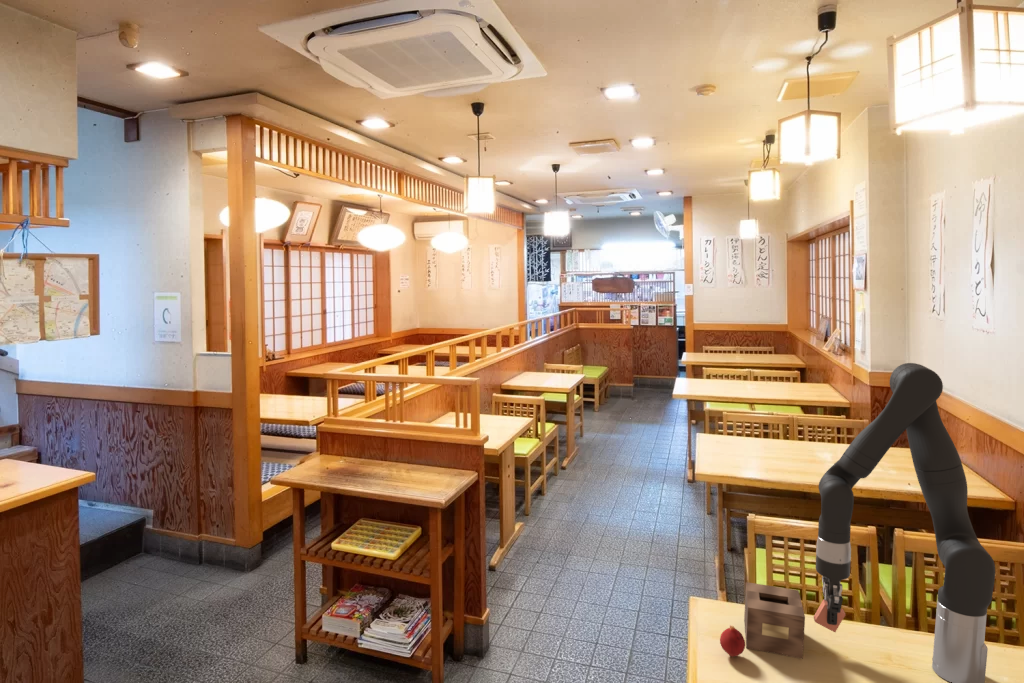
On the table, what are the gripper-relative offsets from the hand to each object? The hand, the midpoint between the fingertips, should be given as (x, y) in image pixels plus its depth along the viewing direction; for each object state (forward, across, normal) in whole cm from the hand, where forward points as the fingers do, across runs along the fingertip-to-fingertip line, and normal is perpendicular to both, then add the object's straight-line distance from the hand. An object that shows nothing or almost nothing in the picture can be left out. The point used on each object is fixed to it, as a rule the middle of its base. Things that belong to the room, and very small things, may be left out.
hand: (830, 620), depth 148 cm
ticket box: (+7, 0, +14) cm, 15 cm away
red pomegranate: (+7, -11, +24) cm, 27 cm away
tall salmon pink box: (+1, 0, +2) cm, 2 cm away
